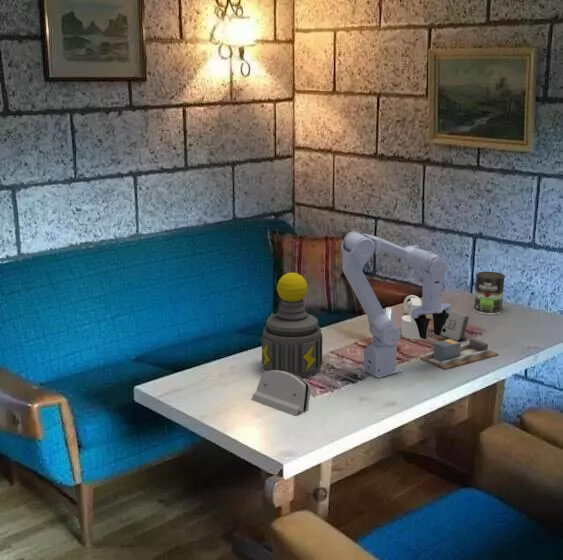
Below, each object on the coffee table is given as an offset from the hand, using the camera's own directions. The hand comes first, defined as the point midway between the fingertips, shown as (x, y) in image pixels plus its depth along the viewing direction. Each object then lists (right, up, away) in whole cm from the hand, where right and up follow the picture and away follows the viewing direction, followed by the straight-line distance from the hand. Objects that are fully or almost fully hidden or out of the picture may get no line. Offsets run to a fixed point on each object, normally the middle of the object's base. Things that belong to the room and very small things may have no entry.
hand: (430, 336), depth 239 cm
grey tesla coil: (-42, -10, +1) cm, 43 cm away
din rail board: (+11, -7, +9) cm, 16 cm away
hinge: (-45, -17, -25) cm, 54 cm away
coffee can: (+33, +5, +57) cm, 66 cm away
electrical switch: (+13, -2, +29) cm, 32 cm away
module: (+6, -7, +6) cm, 11 cm away
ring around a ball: (+4, +4, +52) cm, 52 cm away
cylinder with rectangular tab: (0, -2, +30) cm, 30 cm away
